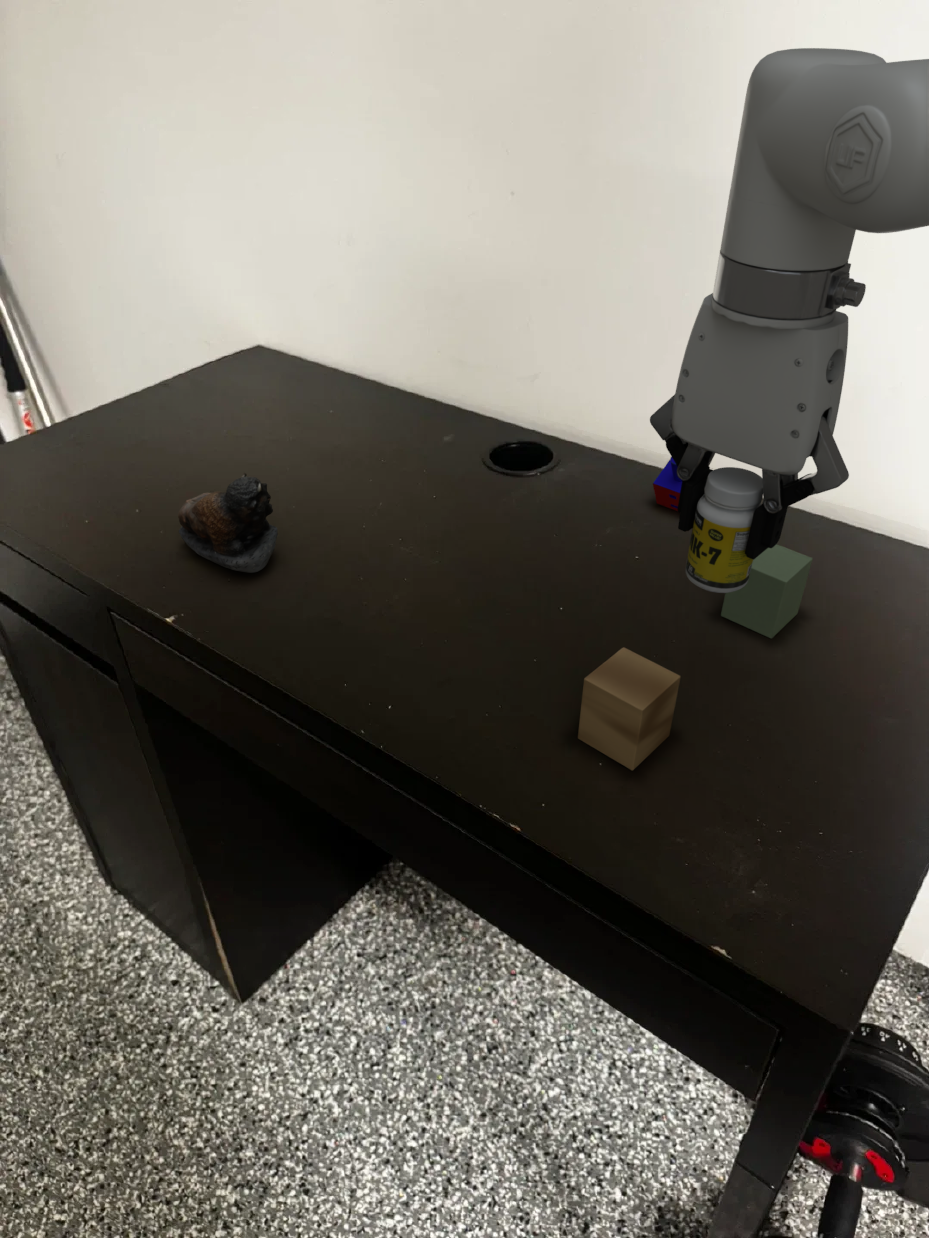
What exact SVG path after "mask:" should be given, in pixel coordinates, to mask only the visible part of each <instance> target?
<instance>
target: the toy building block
mask: <svg viewBox="0 0 929 1238" xmlns="http://www.w3.org/2000/svg"><path fill="white" fill-rule="evenodd" d="M665 464H666V465H664V466H663V469H662V470H661V471H660V473H659V474H658V475H657V477H656V478H655V479H654V480H653V482H652V487H653V491H654V496H655V501H656V504H657V505H659V506H662V507H665V508H668V509H671V510H672V511H676V512H678V503H679V497H680V491H681V485H682V480H681V479H680V478H679V477H678V476H677V468H678V467H677V465H676V463H675V461H674V460H673V458H672V456H671V455H670V459H669V460H668V461H667V463H665Z"/></svg>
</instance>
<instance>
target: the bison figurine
mask: <svg viewBox="0 0 929 1238" xmlns="http://www.w3.org/2000/svg"><path fill="white" fill-rule="evenodd" d="M242 474H243V475H242V476H241V477H238V478H236V479H234V480H233V481H232V482H230V484H229V485H227V487H226V491H225V492H224V491H219V490H217V491H214V492H202V493H201V494H199V495H197V496H194V497H192V498H189V499H186V500H185V501H184V503H183V505H182V506H181V508H180V509H179V511H178V514H177V517H178V522H179V524H180V525H181V527H180V528H179V530H178V533H179V535H180V537H181V539H182V540H183V541H184V542H185V544H186V545H187V546H188V547H189V548H190V549H191V550H192V551H194V552H195V553H196V554H197V555H198V556H201V557H202V558H204V559H206V560H208V561H210V562H211V563H212V562H213V563H215V564H216V565H218V566H221V567H223V568H226V569H230V570H232V571H236V572H241V573H248V574H254V573H258V572H259V571H262V570H263V569H264V568H265V567H266V566H267V564H268V563H269V560H270V558H271V556H272V554H273V553H274V551H275V548H276V545H277V539H278V527H277V526H275V525H272V524H270V523H269V521H268V519H267V517H269V516H270V515H272V514H273V512H274V509H273V504H272V503H270V502H271V498H272V496H271V494H270V493H269V491H268V483H266V482H261V480H260V479H259V478H257V477H255V476H248V475H247V473H246V472H243V473H242Z"/></svg>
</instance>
